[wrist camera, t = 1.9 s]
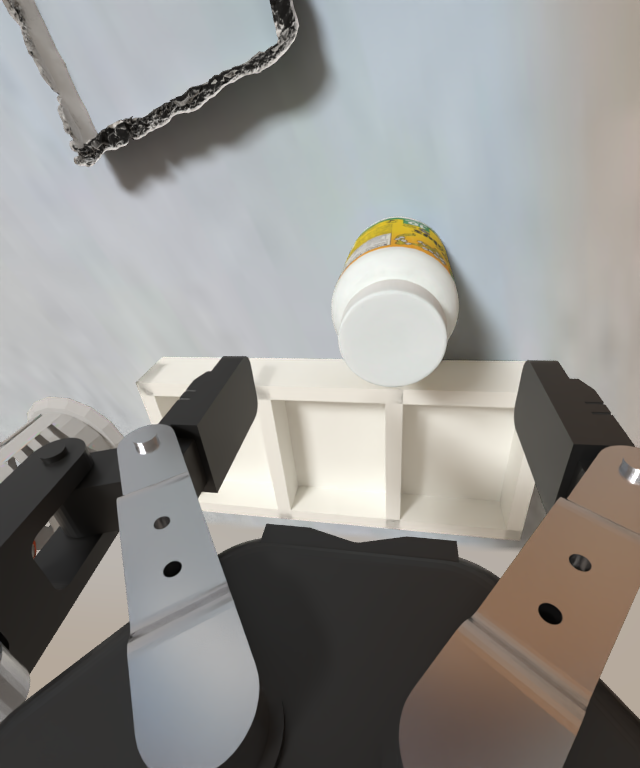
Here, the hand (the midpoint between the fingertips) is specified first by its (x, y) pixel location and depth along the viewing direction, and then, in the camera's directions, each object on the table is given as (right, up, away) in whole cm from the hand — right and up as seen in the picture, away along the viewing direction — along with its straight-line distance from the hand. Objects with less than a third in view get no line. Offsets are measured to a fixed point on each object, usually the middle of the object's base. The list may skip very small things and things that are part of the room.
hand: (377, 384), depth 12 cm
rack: (0, -3, +18) cm, 18 cm away
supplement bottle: (+3, +7, +11) cm, 13 cm away
